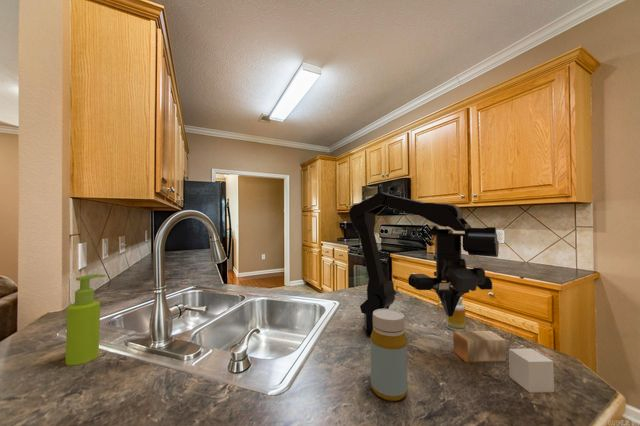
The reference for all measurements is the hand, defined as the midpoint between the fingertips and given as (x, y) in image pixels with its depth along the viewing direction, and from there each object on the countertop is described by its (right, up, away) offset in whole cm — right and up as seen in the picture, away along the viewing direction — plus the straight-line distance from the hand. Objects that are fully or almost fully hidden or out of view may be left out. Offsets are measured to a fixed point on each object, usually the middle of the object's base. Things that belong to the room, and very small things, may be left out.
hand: (449, 316), depth 63 cm
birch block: (+2, -7, 0) cm, 8 cm away
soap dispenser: (-90, -10, -1) cm, 91 cm away
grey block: (+11, -10, -11) cm, 18 cm away
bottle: (-19, -10, -13) cm, 25 cm away
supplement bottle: (+10, -11, +16) cm, 22 cm away
